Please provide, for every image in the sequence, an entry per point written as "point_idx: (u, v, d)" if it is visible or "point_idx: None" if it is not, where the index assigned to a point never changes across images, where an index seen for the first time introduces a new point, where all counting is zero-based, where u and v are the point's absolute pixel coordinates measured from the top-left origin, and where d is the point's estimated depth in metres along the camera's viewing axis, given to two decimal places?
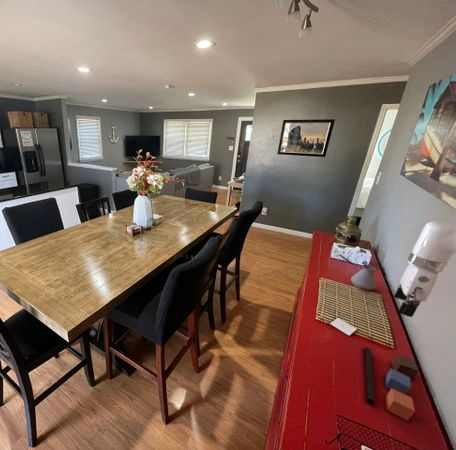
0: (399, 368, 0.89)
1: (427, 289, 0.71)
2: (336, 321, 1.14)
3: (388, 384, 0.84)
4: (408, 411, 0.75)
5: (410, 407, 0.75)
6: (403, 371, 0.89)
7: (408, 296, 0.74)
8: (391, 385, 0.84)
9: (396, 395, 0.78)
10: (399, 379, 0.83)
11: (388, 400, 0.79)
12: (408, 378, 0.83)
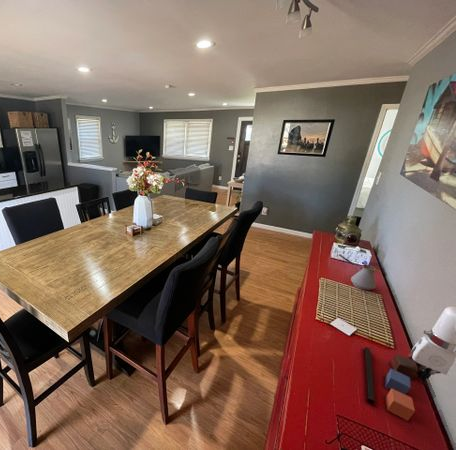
0: (398, 368, 0.89)
1: (417, 350, 0.85)
2: (336, 321, 1.14)
3: (388, 384, 0.84)
4: (408, 411, 0.75)
5: (410, 407, 0.75)
6: (402, 371, 0.89)
7: None
8: (391, 385, 0.84)
9: (396, 395, 0.78)
10: (399, 379, 0.83)
11: (388, 400, 0.79)
12: (408, 378, 0.83)
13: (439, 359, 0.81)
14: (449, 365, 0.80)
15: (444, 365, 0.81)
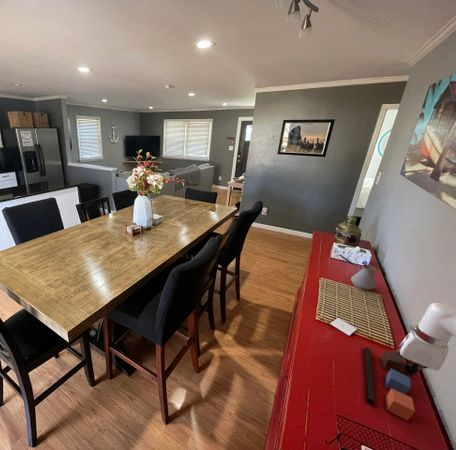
0: (387, 363, 0.91)
1: (405, 346, 0.87)
2: (336, 321, 1.14)
3: (388, 384, 0.84)
4: (408, 411, 0.75)
5: (410, 407, 0.75)
6: (391, 366, 0.91)
7: None
8: (391, 385, 0.84)
9: (396, 395, 0.78)
10: (399, 379, 0.83)
11: (388, 400, 0.79)
12: (408, 378, 0.83)
13: (425, 354, 0.83)
14: (435, 360, 0.82)
15: (430, 360, 0.83)
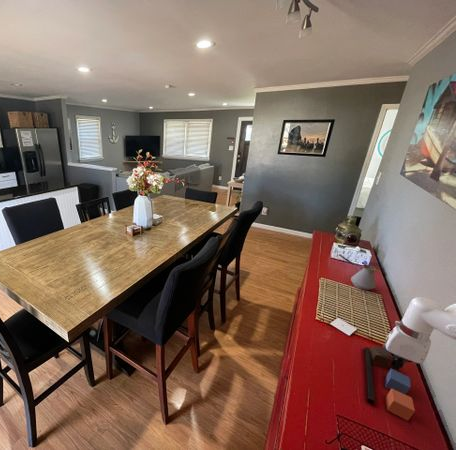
0: (375, 358, 0.93)
1: (389, 340, 0.89)
2: (336, 321, 1.14)
3: (388, 384, 0.84)
4: (408, 411, 0.75)
5: (410, 407, 0.75)
6: (378, 361, 0.93)
7: None
8: (391, 385, 0.84)
9: (396, 395, 0.78)
10: (399, 379, 0.83)
11: (388, 400, 0.79)
12: (408, 378, 0.83)
13: (409, 348, 0.85)
14: (418, 353, 0.84)
15: (414, 353, 0.85)
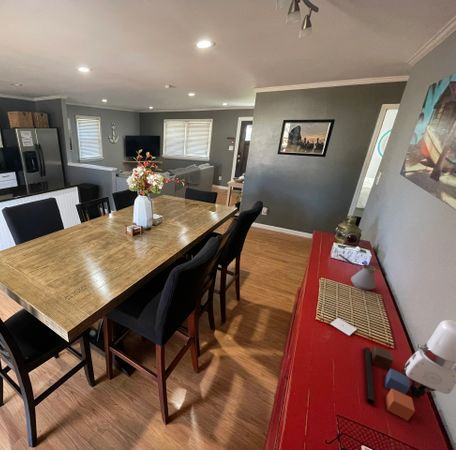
0: (375, 358, 0.93)
1: (411, 366, 0.79)
2: (336, 321, 1.14)
3: (388, 384, 0.85)
4: (408, 411, 0.75)
5: (410, 407, 0.75)
6: (378, 361, 0.92)
7: None
8: (391, 385, 0.84)
9: (396, 395, 0.78)
10: (398, 379, 0.83)
11: (388, 400, 0.79)
12: (407, 378, 0.83)
13: (434, 376, 0.76)
14: (445, 383, 0.74)
15: (439, 382, 0.75)
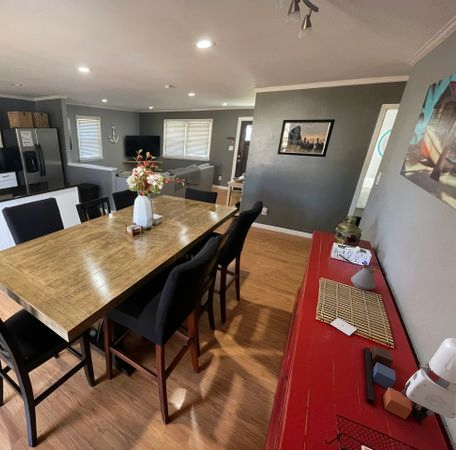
0: (375, 358, 0.93)
1: (412, 386, 0.73)
2: (336, 321, 1.14)
3: (374, 378, 0.87)
4: (405, 410, 0.75)
5: (407, 406, 0.75)
6: (378, 361, 0.92)
7: None
8: (377, 378, 0.86)
9: (393, 393, 0.78)
10: (385, 373, 0.85)
11: (385, 399, 0.80)
12: (393, 371, 0.86)
13: (437, 399, 0.69)
14: (449, 407, 0.68)
15: (443, 406, 0.69)
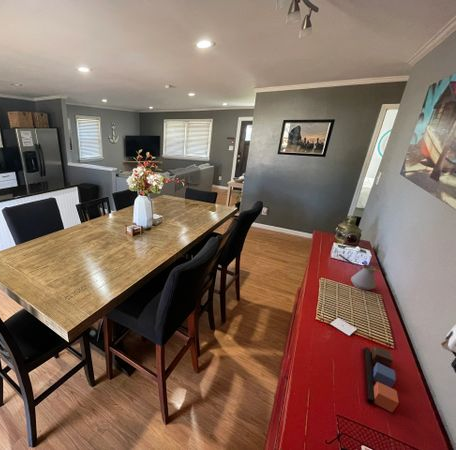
0: (375, 358, 0.93)
1: (455, 336, 0.66)
2: (336, 321, 1.14)
3: (374, 378, 0.87)
4: (392, 403, 0.77)
5: (394, 399, 0.77)
6: (378, 361, 0.92)
7: None
8: (377, 378, 0.86)
9: (381, 387, 0.80)
10: (385, 373, 0.85)
11: (374, 393, 0.81)
12: (393, 371, 0.86)
13: None
14: None
15: None
